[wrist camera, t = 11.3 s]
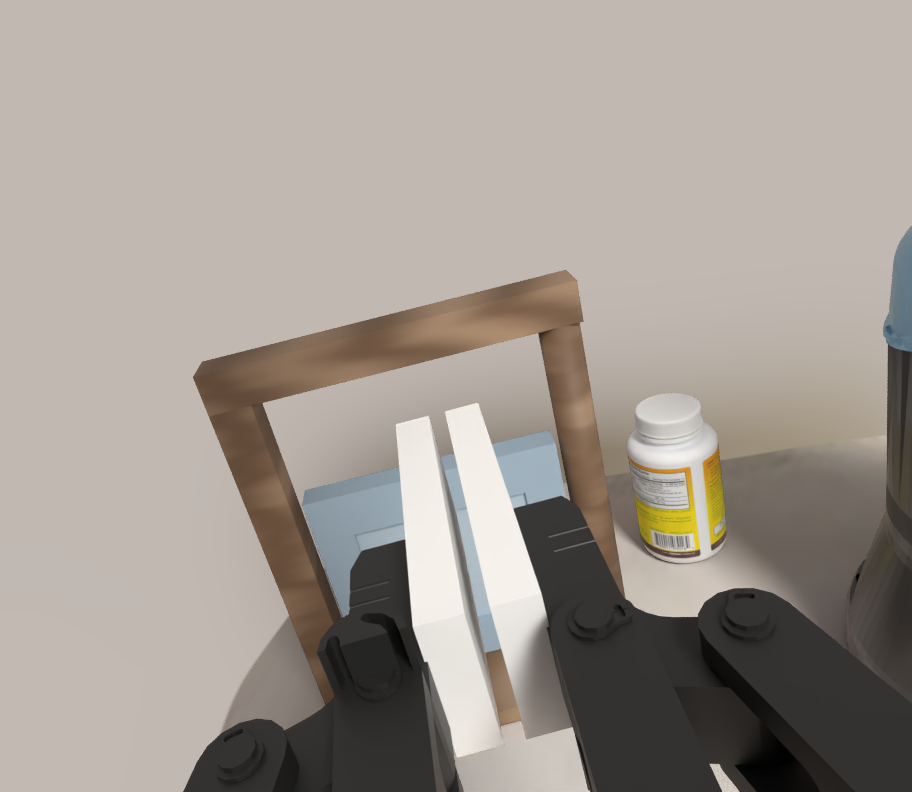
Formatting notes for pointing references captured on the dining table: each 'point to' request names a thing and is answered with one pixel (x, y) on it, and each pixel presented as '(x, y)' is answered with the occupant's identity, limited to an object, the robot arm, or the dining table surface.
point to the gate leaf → (381, 517)
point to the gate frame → (379, 350)
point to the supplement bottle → (677, 479)
